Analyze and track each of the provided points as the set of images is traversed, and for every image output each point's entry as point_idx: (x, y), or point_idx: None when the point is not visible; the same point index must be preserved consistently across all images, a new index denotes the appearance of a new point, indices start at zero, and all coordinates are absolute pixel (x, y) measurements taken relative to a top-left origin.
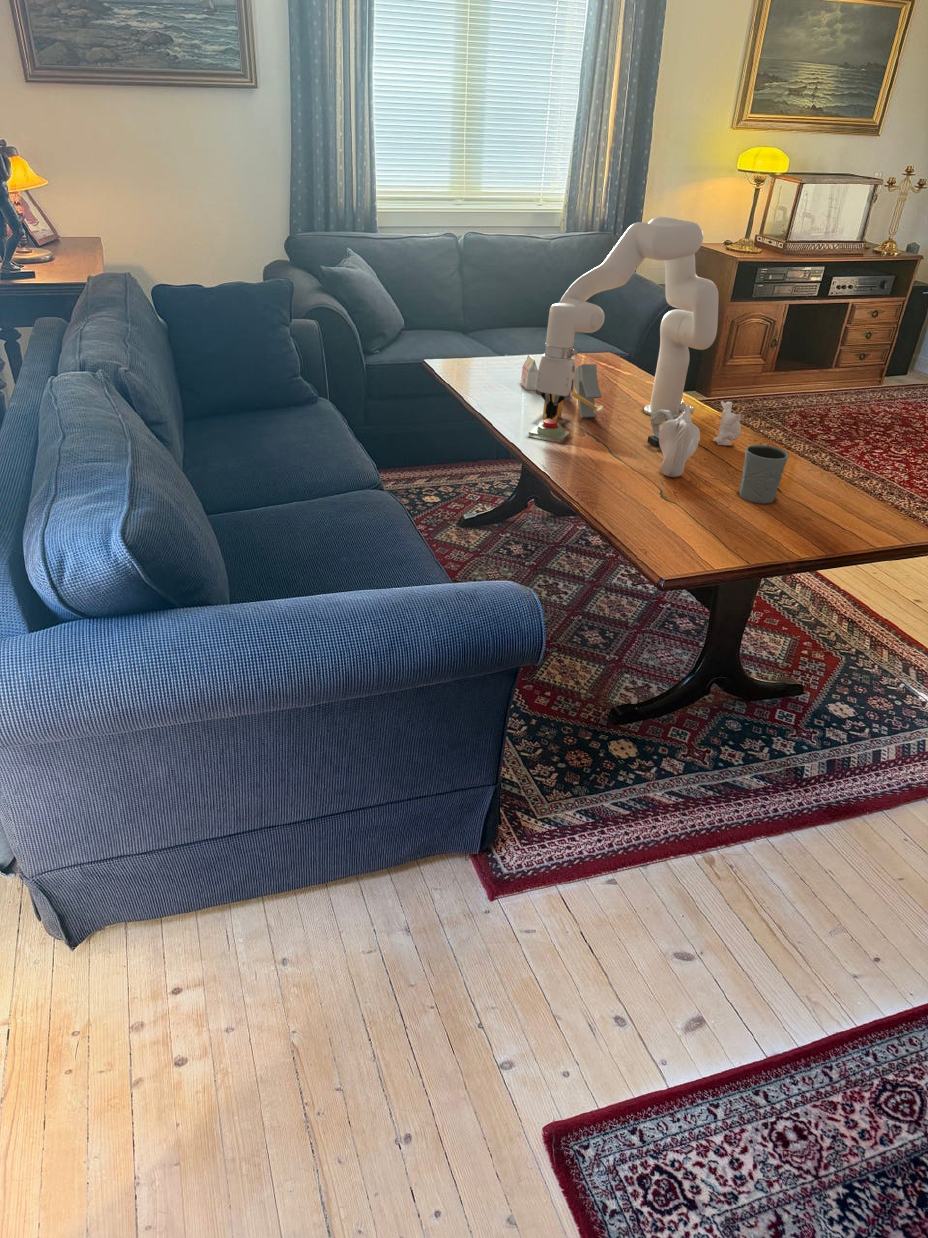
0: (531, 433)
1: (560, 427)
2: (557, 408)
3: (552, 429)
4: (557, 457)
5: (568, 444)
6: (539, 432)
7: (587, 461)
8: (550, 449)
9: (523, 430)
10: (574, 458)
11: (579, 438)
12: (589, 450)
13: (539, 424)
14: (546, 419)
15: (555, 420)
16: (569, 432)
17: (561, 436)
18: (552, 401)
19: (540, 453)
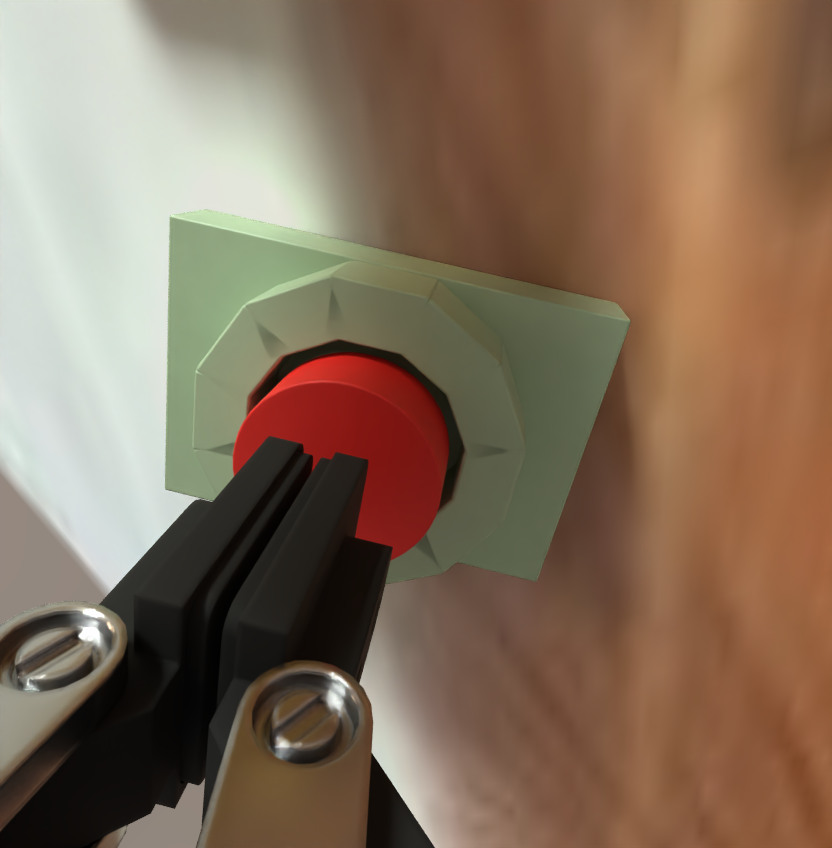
0: (198, 492)
1: (498, 463)
2: (369, 627)
3: (404, 566)
4: (517, 793)
5: (609, 519)
6: None
7: (763, 825)
8: (445, 669)
9: (70, 244)
10: (655, 792)
11: (761, 283)
12: (828, 617)
13: (210, 438)
14: (257, 417)
15: (398, 418)
16: (628, 327)
17: (526, 518)
18: (164, 694)
19: (381, 751)
